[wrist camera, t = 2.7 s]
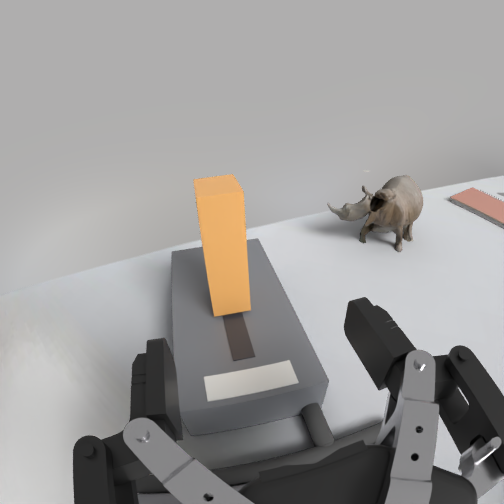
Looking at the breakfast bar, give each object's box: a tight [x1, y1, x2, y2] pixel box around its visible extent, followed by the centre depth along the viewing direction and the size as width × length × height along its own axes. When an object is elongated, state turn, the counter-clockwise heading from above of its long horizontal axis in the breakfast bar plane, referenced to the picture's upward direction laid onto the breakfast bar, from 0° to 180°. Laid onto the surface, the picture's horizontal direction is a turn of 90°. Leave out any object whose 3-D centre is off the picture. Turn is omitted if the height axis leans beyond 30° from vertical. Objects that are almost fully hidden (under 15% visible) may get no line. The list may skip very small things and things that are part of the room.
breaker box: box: [172, 239, 329, 436], centre depth 27 cm, size 10×20×4 cm, turn 13°
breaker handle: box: [194, 174, 251, 317], centre depth 23 cm, size 3×4×10 cm
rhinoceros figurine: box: [328, 175, 423, 252], centre depth 39 cm, size 8×14×15 cm
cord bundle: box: [136, 403, 383, 504], centre depth 17 cm, size 19×10×1 cm, turn 103°
